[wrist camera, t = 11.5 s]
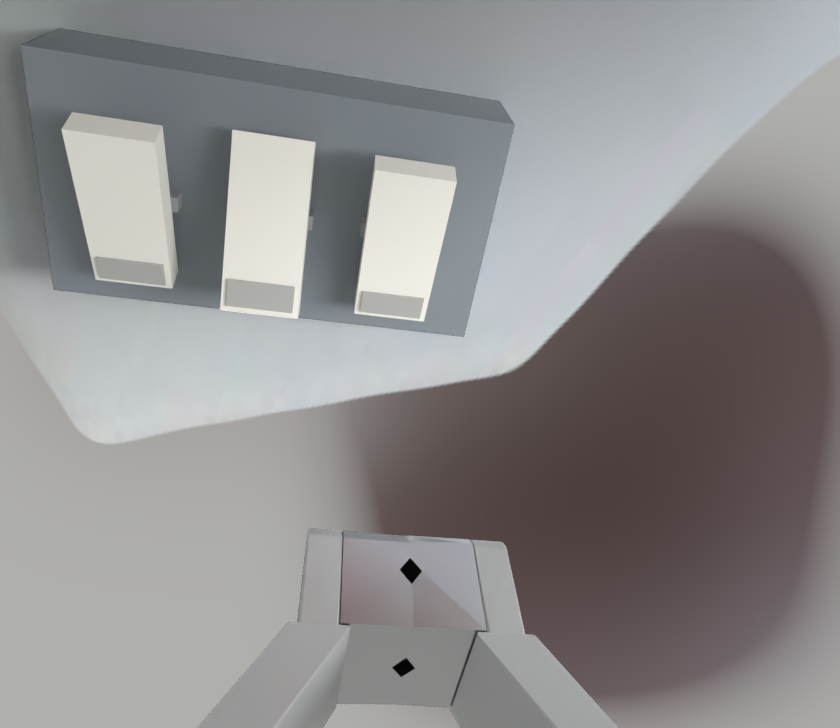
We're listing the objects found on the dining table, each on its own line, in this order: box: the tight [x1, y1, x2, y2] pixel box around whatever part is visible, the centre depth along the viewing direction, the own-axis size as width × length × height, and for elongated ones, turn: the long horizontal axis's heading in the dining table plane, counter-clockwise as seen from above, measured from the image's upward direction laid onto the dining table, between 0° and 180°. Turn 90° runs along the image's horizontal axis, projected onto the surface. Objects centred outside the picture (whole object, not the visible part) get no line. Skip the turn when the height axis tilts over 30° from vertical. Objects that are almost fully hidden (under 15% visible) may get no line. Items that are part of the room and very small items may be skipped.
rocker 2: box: [220, 129, 316, 319], centre depth 36 cm, size 4×9×2 cm, turn 171°
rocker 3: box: [354, 155, 457, 322], centre depth 37 cm, size 4×9×2 cm, turn 170°
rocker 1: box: [61, 112, 178, 289], centre depth 35 cm, size 4×9×2 cm, turn 171°
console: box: [20, 29, 514, 337], centre depth 39 cm, size 24×13×6 cm, turn 80°
